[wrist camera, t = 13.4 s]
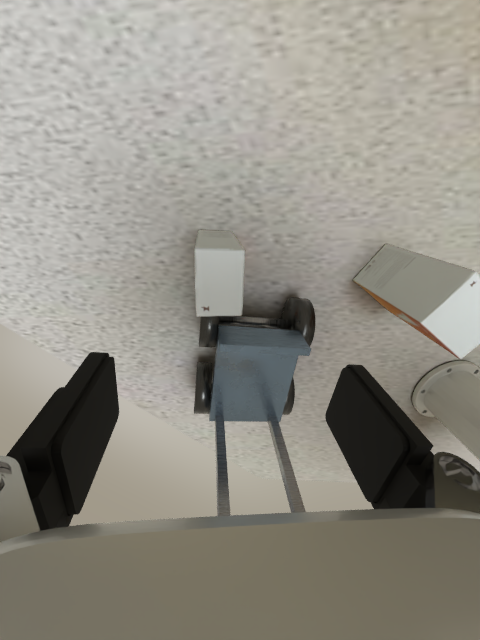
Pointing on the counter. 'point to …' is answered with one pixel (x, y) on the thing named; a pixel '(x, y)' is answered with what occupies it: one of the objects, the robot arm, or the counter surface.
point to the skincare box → (218, 274)
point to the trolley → (253, 381)
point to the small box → (427, 296)
